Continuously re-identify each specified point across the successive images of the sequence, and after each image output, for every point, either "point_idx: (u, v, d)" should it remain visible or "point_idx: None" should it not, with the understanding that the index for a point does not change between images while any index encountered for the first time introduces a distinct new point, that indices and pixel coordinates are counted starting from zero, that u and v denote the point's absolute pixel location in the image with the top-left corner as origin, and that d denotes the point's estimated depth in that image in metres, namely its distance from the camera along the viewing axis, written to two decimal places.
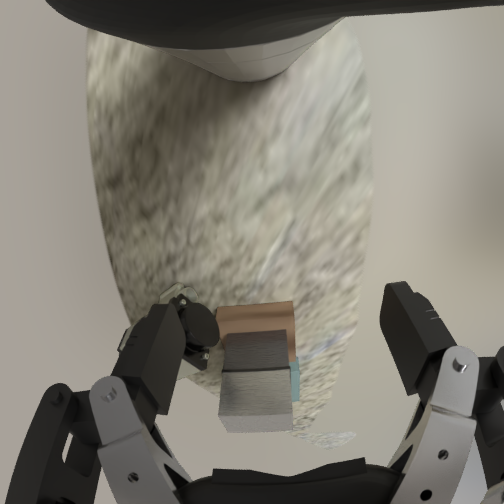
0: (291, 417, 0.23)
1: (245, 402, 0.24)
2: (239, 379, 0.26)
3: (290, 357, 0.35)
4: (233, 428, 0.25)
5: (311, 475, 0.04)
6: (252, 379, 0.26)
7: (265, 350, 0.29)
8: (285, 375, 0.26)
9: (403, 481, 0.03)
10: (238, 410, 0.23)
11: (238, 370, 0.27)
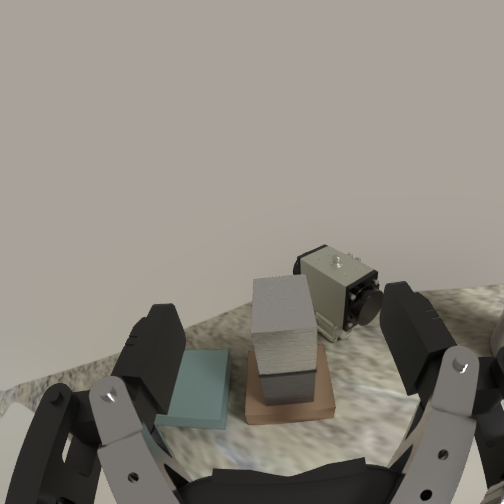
0: (303, 327, 0.19)
1: None
2: None
3: (255, 409, 0.25)
4: (267, 283, 0.25)
5: (312, 475, 0.04)
6: None
7: None
8: None
9: (403, 481, 0.03)
10: None
11: None
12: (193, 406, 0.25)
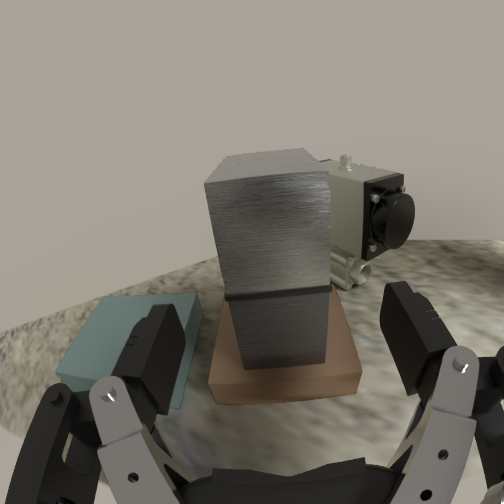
0: (302, 171, 0.10)
1: None
2: None
3: (226, 374, 0.15)
4: (246, 155, 0.16)
5: (311, 475, 0.04)
6: None
7: None
8: None
9: (403, 481, 0.03)
10: None
11: None
12: None
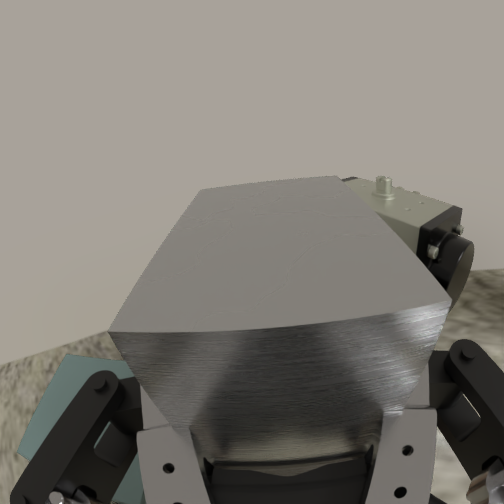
0: (389, 306, 0.03)
1: None
2: None
3: None
4: (235, 191, 0.09)
5: (311, 475, 0.04)
6: None
7: None
8: None
9: (403, 481, 0.03)
10: None
11: None
12: None
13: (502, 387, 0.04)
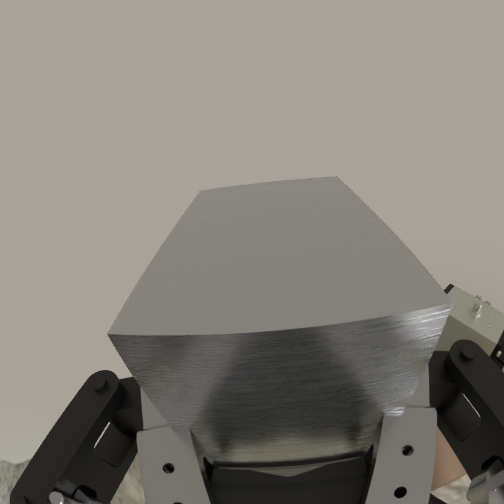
0: (389, 308, 0.03)
1: None
2: None
3: None
4: (235, 192, 0.09)
5: (312, 475, 0.04)
6: None
7: None
8: None
9: (403, 481, 0.03)
10: None
11: None
12: None
13: (502, 386, 0.04)
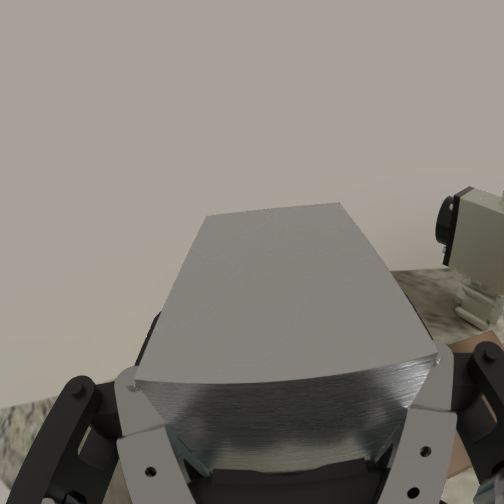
0: (381, 359, 0.04)
1: None
2: None
3: (454, 461, 0.08)
4: (240, 220, 0.09)
5: (311, 475, 0.04)
6: None
7: None
8: None
9: (403, 481, 0.03)
10: None
11: None
12: None
13: None
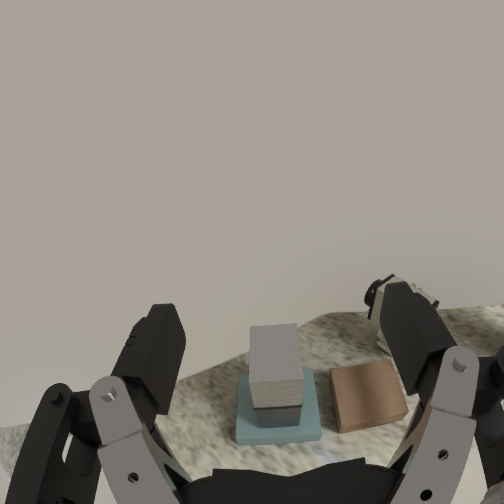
0: (292, 378, 0.22)
1: None
2: None
3: (349, 420, 0.27)
4: (263, 331, 0.28)
5: (311, 475, 0.04)
6: None
7: None
8: None
9: (403, 481, 0.03)
10: None
11: None
12: None
13: None
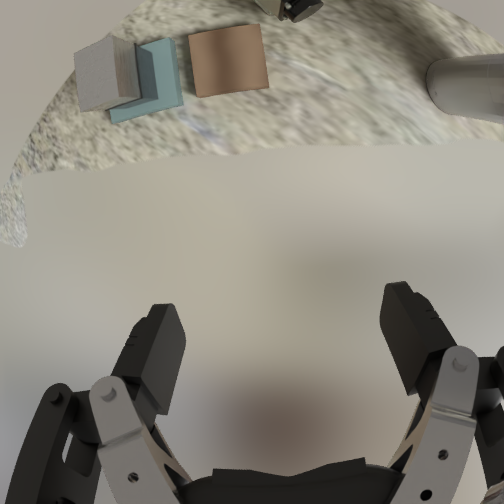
0: (110, 98, 0.20)
1: (121, 58, 0.20)
2: (132, 56, 0.22)
3: (204, 90, 0.30)
4: (84, 55, 0.18)
5: (311, 475, 0.04)
6: (133, 66, 0.22)
7: (147, 80, 0.26)
8: (137, 94, 0.24)
9: (403, 481, 0.03)
10: (116, 52, 0.19)
11: (137, 56, 0.23)
12: None
13: None
